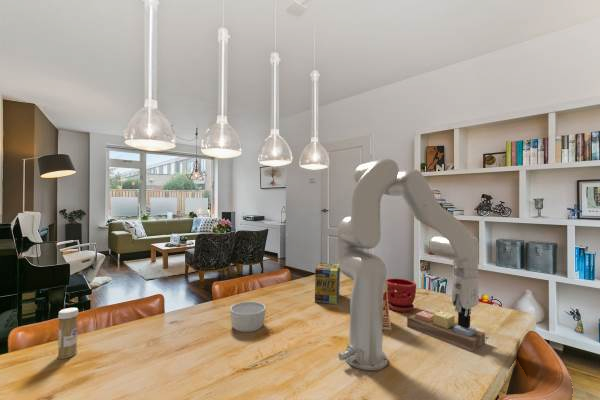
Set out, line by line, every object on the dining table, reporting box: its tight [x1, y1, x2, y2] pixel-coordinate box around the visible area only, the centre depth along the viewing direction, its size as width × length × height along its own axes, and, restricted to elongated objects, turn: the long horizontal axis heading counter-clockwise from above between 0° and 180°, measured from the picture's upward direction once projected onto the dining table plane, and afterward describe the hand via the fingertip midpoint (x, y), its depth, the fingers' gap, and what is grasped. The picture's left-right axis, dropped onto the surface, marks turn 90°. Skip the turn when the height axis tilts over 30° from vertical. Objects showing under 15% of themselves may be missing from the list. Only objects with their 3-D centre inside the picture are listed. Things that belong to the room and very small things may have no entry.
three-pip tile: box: [415, 310, 435, 323], centre depth 110 cm, size 5×5×4 cm
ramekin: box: [229, 301, 267, 333], centre depth 108 cm, size 13×13×7 cm
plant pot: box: [386, 278, 417, 313], centre depth 130 cm, size 13×13×12 cm
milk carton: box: [383, 281, 393, 331], centre depth 112 cm, size 9×9×20 cm
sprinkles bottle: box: [57, 307, 79, 360], centre depth 86 cm, size 5×5×14 cm
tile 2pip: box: [433, 310, 455, 329], centre depth 104 cm, size 5×5×4 cm
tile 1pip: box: [453, 325, 477, 338], centre depth 98 cm, size 5×5×4 cm
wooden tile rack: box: [406, 313, 486, 353], centre depth 104 cm, size 10×23×3 cm, turn 37°
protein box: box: [314, 262, 341, 305], centre depth 141 cm, size 10×15×16 cm
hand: (463, 326), depth 98 cm, fingers closed
